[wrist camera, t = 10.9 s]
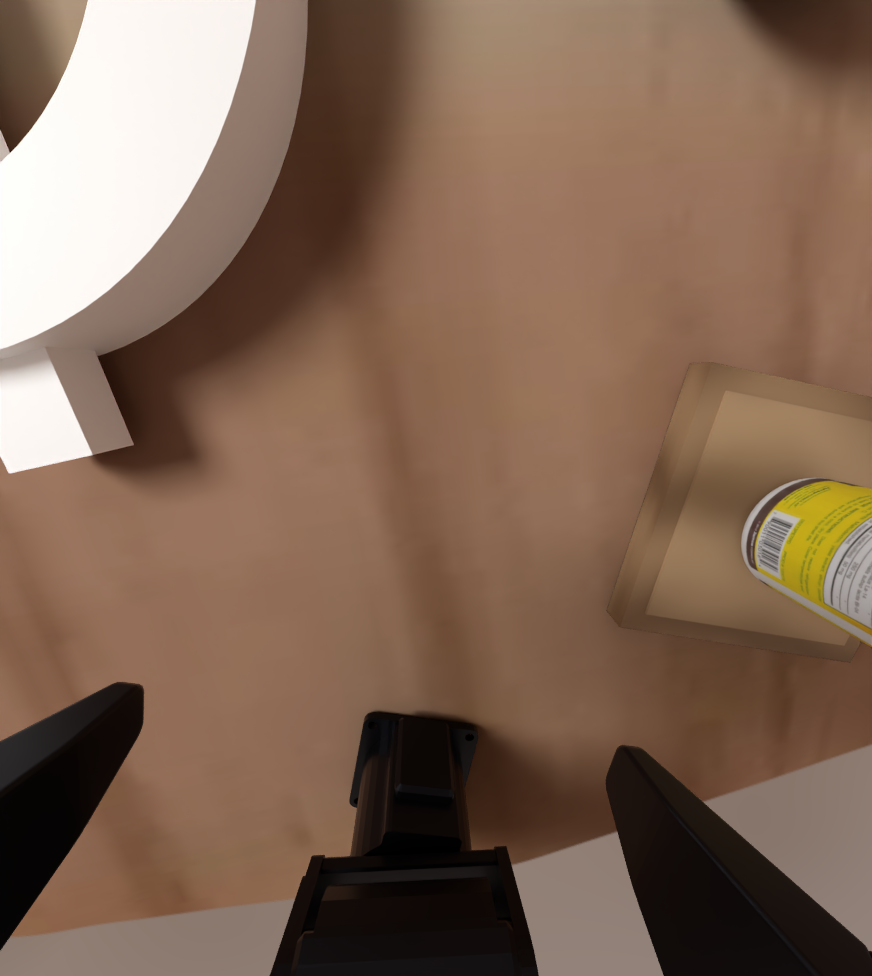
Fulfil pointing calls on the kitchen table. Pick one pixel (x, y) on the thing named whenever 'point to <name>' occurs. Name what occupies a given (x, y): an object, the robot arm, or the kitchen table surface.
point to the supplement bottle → (816, 549)
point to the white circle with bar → (133, 200)
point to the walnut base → (736, 508)
